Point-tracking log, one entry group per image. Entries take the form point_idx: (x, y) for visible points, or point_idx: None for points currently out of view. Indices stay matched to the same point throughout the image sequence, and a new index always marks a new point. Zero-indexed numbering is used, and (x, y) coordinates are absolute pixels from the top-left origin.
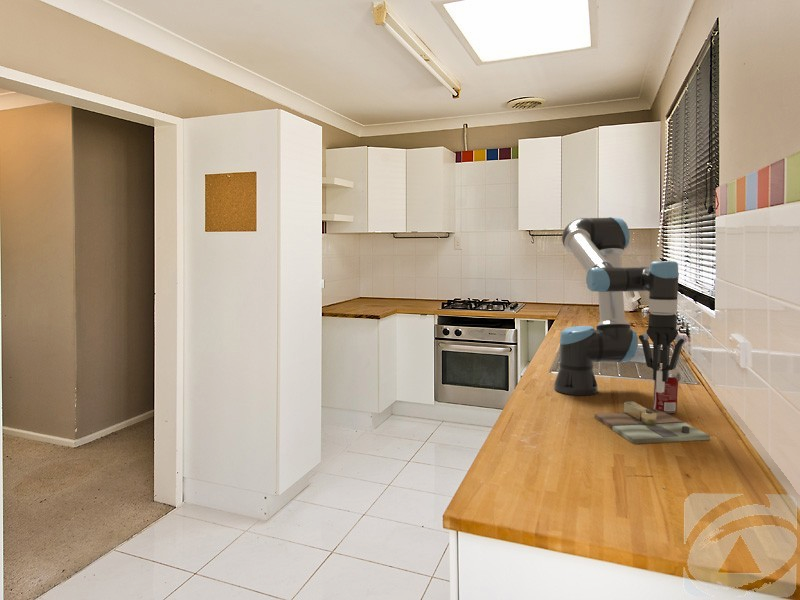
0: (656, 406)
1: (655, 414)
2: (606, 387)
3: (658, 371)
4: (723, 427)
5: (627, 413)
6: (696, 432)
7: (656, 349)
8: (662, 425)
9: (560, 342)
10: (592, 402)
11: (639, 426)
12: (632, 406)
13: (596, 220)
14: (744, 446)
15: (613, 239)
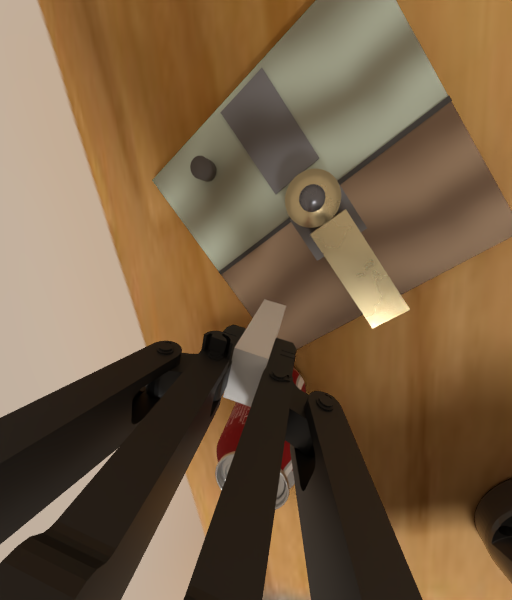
0: (295, 376)
1: (288, 187)
2: (439, 554)
3: (257, 353)
4: (148, 303)
5: None
6: (182, 188)
7: (216, 567)
8: (271, 208)
9: None
10: (502, 408)
11: (342, 153)
12: (376, 257)
13: None
14: (93, 173)
15: None
